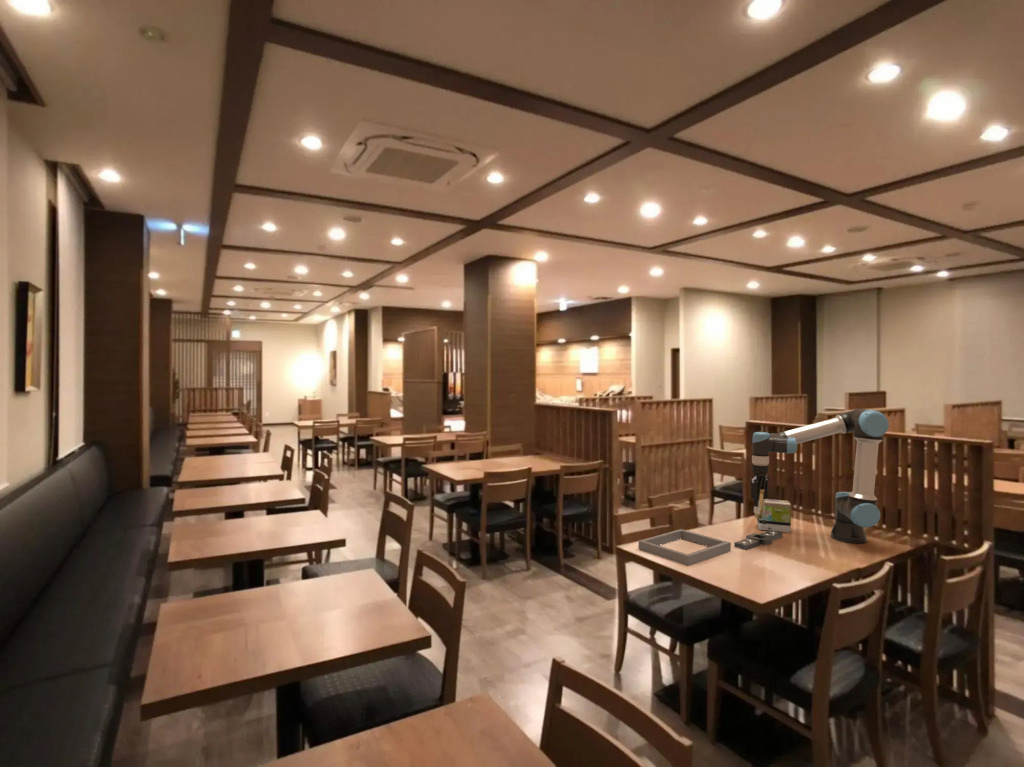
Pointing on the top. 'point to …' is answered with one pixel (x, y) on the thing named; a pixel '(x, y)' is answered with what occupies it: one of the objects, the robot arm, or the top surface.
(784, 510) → the tea box
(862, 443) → the robot arm
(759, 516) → the pin
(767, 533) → the chain ends
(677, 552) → the frame
